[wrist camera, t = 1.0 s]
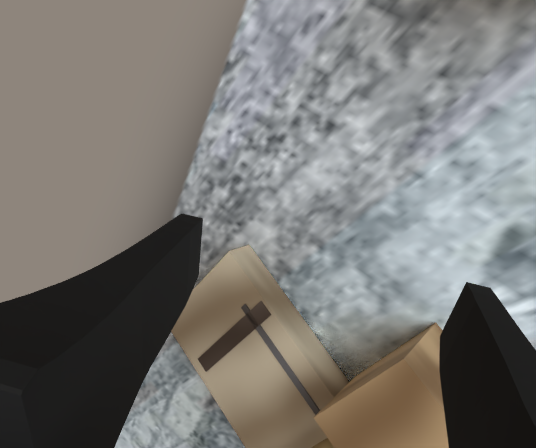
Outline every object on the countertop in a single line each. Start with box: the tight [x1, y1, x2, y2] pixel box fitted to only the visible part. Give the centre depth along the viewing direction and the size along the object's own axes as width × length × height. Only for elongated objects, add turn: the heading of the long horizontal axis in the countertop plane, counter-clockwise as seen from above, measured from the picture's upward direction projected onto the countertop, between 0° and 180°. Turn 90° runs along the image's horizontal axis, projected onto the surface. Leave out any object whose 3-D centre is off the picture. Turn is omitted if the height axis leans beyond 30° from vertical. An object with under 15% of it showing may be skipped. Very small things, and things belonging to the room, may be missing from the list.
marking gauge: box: [311, 323, 449, 448], centre depth 25 cm, size 4×11×5 cm, turn 135°
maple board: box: [171, 245, 349, 448], centre depth 29 cm, size 20×8×2 cm, turn 45°
